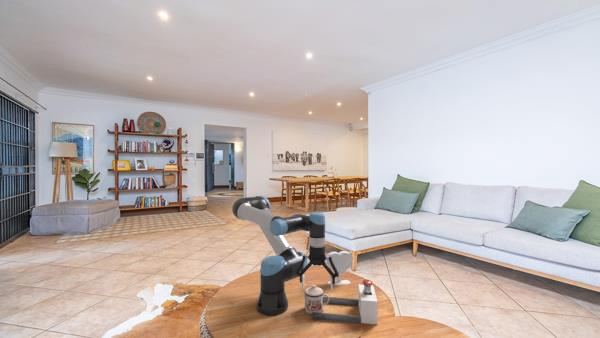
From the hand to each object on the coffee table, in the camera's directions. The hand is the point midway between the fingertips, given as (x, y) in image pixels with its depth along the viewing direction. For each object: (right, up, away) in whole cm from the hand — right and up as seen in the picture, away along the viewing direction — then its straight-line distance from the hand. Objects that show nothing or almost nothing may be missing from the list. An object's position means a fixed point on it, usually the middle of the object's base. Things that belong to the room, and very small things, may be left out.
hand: (317, 290), depth 128 cm
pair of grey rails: (+9, -10, -1) cm, 13 cm away
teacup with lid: (0, -10, 0) cm, 10 cm away
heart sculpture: (+15, -10, +30) cm, 35 cm away
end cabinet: (+23, -10, -3) cm, 25 cm away
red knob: (+23, -2, -3) cm, 23 cm away
